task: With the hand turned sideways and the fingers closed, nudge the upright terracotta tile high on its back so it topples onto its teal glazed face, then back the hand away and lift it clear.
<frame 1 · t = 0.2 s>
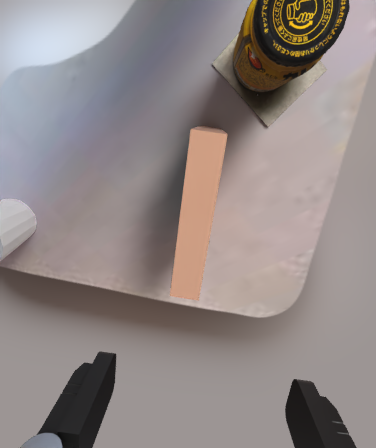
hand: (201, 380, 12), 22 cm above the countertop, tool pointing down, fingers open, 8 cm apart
tile: (202, 181, 31), on the countertop
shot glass: (17, 218, 35), on the countertop
condiment: (267, 67, 26), on the countertop
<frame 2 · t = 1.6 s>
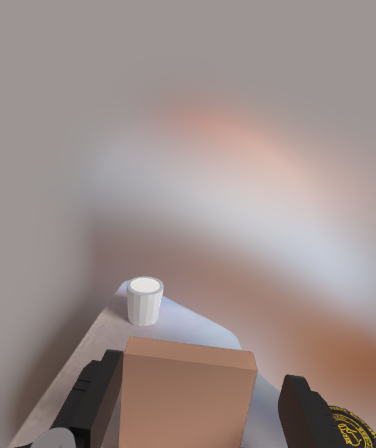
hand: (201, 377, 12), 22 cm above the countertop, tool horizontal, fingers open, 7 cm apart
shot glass: (142, 317, 51), on the countertop
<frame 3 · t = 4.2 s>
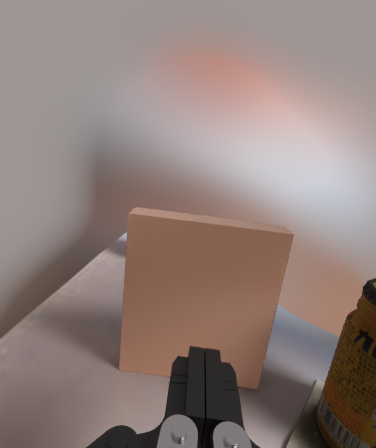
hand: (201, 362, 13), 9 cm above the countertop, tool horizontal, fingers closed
tile: (188, 369, 24), on the countertop
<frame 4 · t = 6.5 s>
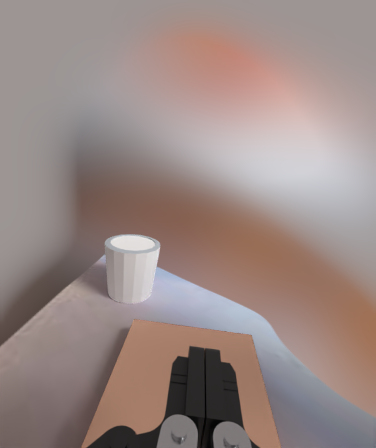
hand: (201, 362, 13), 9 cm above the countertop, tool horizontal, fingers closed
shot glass: (129, 293, 35), on the countertop
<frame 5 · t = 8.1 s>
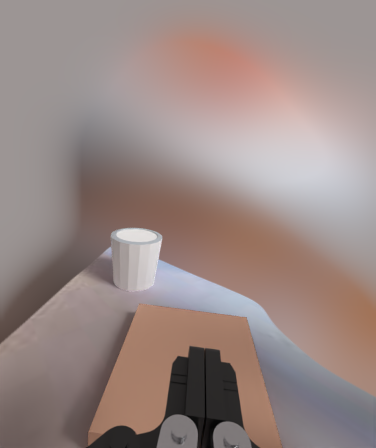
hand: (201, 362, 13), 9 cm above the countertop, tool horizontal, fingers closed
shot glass: (134, 282, 38), on the countertop
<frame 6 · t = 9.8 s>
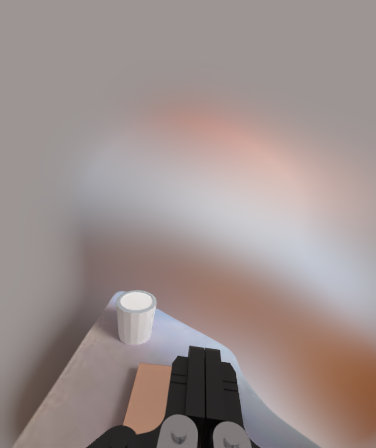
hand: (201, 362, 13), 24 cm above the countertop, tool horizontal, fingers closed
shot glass: (134, 334, 48), on the countertop
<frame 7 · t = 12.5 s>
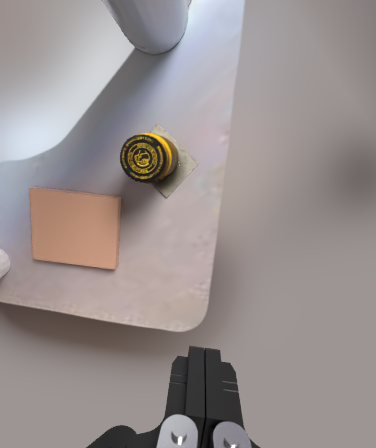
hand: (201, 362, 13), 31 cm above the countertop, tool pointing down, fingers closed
tile: (118, 233, 44), point 1 cm above the countertop, tilted 90°
condiment: (162, 161, 41), on the countertop
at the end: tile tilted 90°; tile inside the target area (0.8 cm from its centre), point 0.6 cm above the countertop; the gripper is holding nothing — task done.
